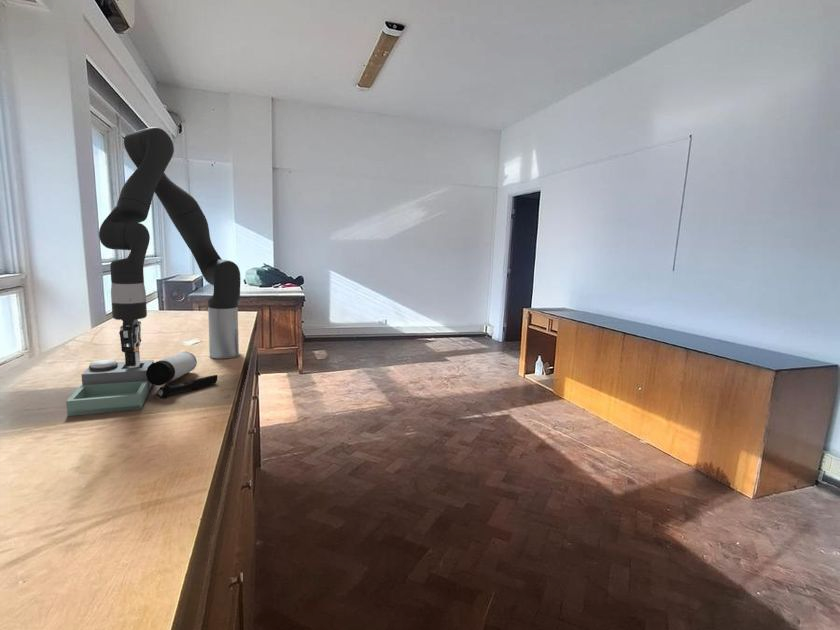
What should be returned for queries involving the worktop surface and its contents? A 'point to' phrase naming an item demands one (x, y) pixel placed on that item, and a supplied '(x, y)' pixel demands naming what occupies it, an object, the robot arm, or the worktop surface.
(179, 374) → the travel mug
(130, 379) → the grey slotted holder
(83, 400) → the tray
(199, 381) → the electric trimmer
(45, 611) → the worktop surface
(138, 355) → the gold capped cylinder
